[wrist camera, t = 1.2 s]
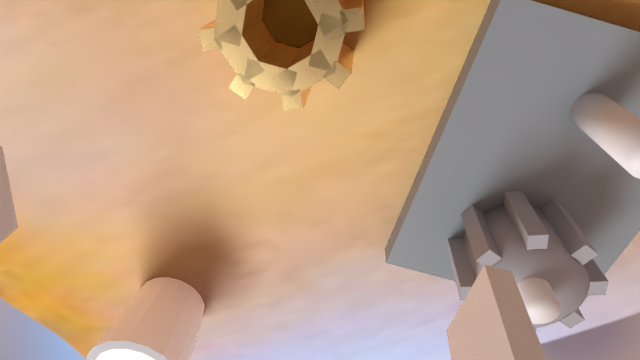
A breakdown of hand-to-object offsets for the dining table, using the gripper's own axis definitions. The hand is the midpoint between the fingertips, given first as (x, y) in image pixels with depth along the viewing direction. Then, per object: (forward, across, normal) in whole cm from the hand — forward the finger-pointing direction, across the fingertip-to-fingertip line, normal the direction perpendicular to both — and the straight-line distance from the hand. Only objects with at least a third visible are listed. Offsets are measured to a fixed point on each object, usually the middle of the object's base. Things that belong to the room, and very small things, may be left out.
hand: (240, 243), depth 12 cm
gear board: (+16, +15, -3) cm, 22 cm away
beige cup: (+16, -7, -22) cm, 28 cm away
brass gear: (+16, -2, +3) cm, 16 cm away
